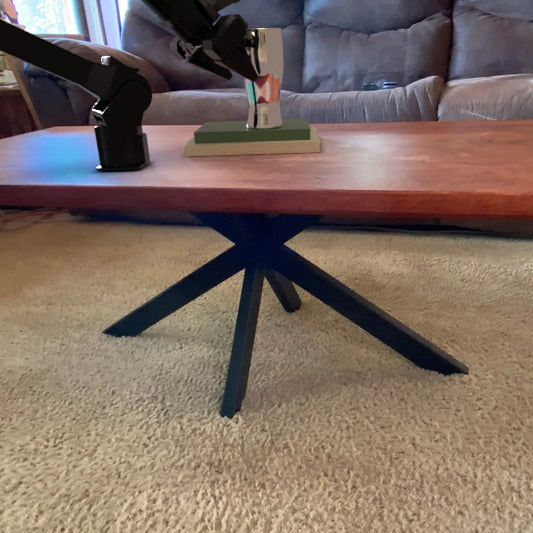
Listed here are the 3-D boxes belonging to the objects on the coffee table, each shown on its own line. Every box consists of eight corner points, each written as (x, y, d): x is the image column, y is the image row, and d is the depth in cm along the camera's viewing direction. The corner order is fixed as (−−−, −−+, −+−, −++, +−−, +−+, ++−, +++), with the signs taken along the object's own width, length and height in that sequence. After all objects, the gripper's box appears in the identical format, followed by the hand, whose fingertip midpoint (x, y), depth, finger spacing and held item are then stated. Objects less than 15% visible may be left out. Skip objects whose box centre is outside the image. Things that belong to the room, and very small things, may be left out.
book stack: (185, 156, 83) (183, 134, 82) (201, 140, 98) (199, 121, 97) (320, 152, 82) (320, 129, 81) (315, 136, 97) (315, 117, 96)
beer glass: (269, 122, 91) (266, 30, 85) (293, 126, 85) (291, 27, 79) (236, 127, 87) (230, 30, 81) (259, 131, 82) (254, 28, 76)
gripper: (230, -57, 65) (304, 36, 74) (181, -34, 81) (247, 41, 90) (178, 12, 65) (258, 97, 74) (138, 21, 80) (209, 91, 89)
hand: (242, 78), depth 82 cm, fingers open, 9 cm apart
